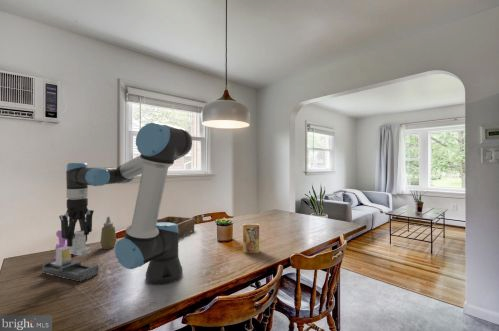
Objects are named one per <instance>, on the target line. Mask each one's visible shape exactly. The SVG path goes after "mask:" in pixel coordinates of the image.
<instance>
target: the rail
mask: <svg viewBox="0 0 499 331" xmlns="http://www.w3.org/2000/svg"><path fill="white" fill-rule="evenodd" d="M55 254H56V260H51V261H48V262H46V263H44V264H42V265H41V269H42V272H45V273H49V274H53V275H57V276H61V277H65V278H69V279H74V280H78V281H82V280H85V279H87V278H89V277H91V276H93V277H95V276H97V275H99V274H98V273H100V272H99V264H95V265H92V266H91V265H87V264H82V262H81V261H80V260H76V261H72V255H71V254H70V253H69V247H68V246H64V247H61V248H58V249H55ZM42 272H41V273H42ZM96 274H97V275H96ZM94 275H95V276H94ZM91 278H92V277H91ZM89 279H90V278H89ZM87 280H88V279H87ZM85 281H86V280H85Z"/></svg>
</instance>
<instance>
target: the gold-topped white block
mask: <svg viewBox="0 0 499 331" xmlns="http://www.w3.org/2000/svg"><path fill="white" fill-rule="evenodd" d="M73 238H75V254H76V255H78V256H84V255H87V254H90V253H91V251H92V248H91V247H89V246H86V247H84V231H81V229H80V230H79V229H78V230H74V235H73ZM76 255H75V256H76Z"/></svg>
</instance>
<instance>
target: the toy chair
mask: <svg viewBox="0 0 499 331" xmlns="http://www.w3.org/2000/svg"><path fill="white" fill-rule="evenodd" d="M55 235H56V237H57V238H58V243H57V244H56V245H55V250H56V249H58V248H61V247H64V246H67V239H64V238H62V233H61V229H59V230H57V231H56V234H55ZM54 254H55V255H54V257H53V259H56V253H54ZM72 256H76V254H73V255H72Z"/></svg>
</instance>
